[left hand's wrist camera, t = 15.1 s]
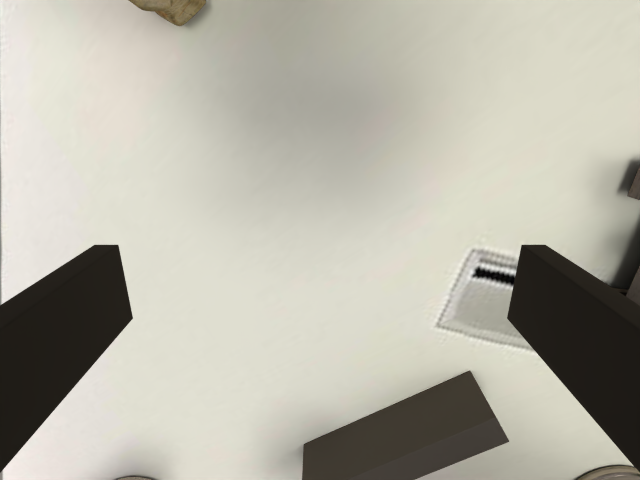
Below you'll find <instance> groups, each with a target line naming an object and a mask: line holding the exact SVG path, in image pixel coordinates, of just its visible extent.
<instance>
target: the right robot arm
mask: <svg viewBox="0 0 640 480" xmlns="http://www.w3.org/2000/svg"><path fill="white" fill-rule="evenodd" d="M577 480H640V472H639V471H638V470H637V469H636V468H634V467H628V466H612V467H606V468H601V469H598V470H595V471H592V472H590V473H588V474H586V475H584V476H582V477H580V478H579V479H577Z"/></svg>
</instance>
